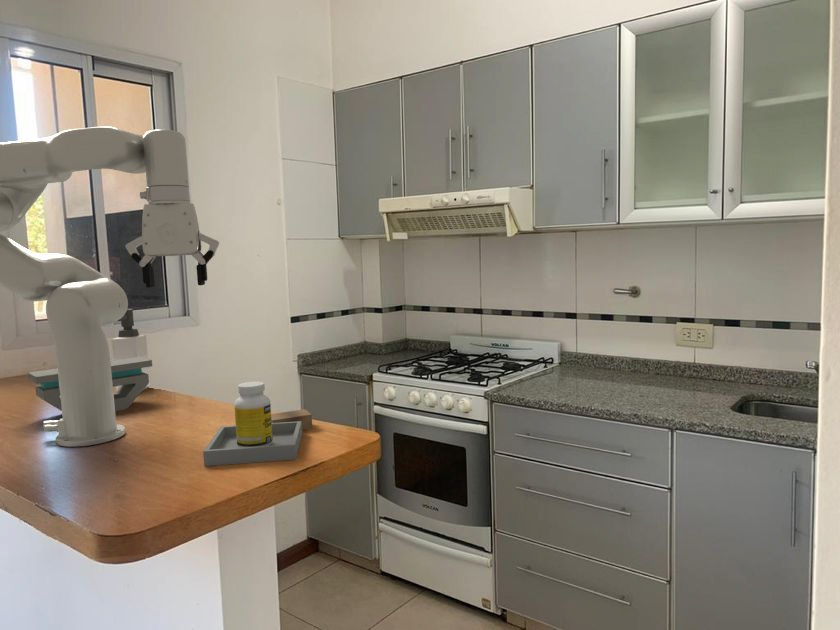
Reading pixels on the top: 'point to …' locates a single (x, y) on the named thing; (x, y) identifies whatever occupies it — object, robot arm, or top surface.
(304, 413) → the walnut block
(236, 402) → the pill bottle
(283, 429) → the tray
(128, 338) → the soap dispenser
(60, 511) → the top surface
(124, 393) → the sharpening stone
